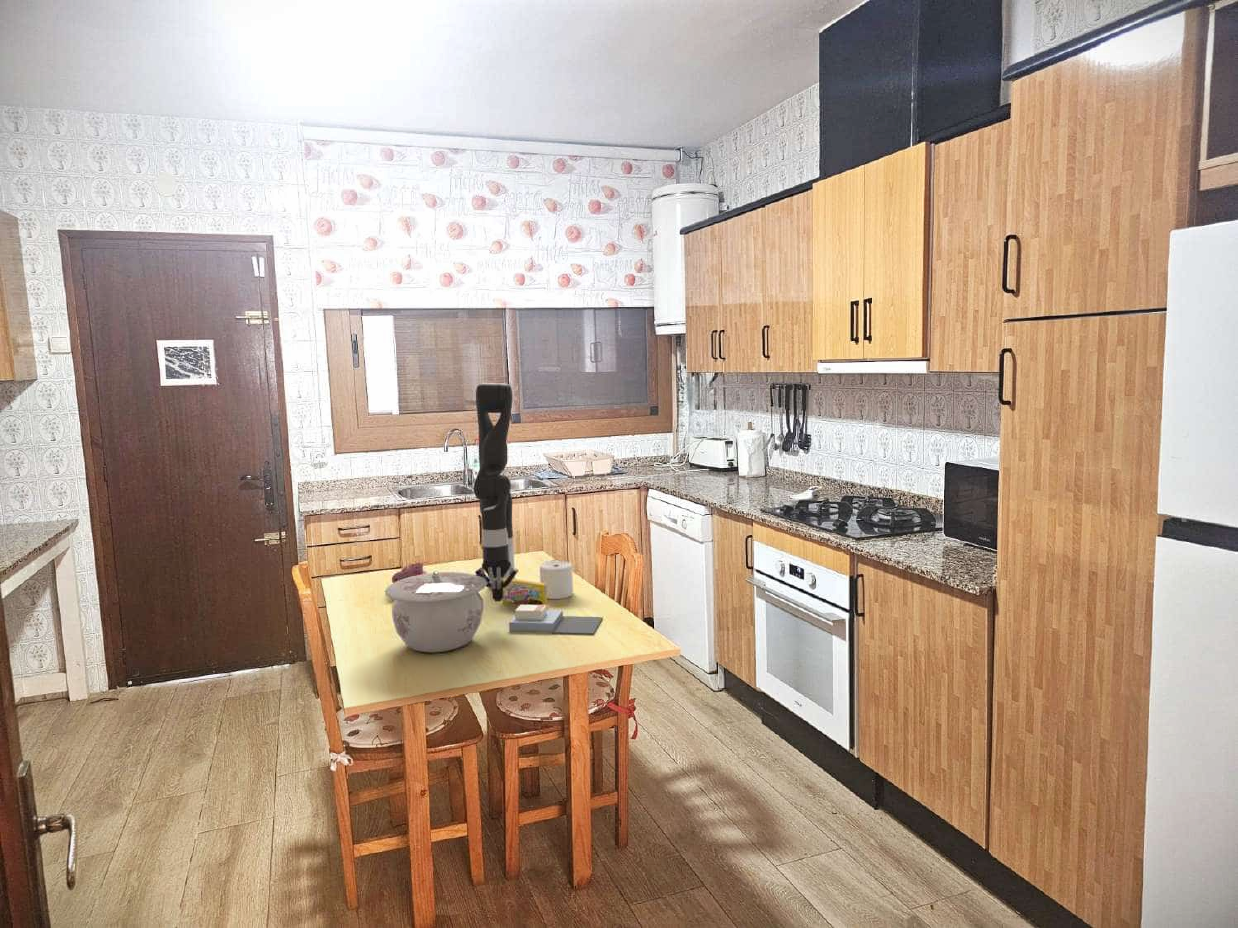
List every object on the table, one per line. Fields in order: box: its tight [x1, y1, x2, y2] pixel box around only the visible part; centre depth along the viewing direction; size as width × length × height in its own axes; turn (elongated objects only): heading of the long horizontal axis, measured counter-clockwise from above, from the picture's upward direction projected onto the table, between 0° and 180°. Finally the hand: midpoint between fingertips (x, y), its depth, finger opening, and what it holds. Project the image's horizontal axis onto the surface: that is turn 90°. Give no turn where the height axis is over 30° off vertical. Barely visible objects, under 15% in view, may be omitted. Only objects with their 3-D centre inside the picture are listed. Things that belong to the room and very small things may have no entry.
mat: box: [551, 615, 603, 636], centre depth 235 cm, size 14×12×1 cm
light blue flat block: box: [508, 609, 564, 633], centre depth 237 cm, size 12×13×2 cm
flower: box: [391, 561, 428, 584], centre depth 273 cm, size 15×15×10 cm
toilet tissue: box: [539, 558, 574, 600], centre depth 266 cm, size 11×12×10 cm
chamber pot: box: [384, 570, 487, 654], centre depth 222 cm, size 28×28×21 cm
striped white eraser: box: [514, 604, 548, 619], centre depth 237 cm, size 6×8×3 cm
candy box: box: [501, 578, 548, 607], centre depth 255 cm, size 16×2×8 cm, turn 62°
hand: (498, 600), depth 238 cm, fingers closed
